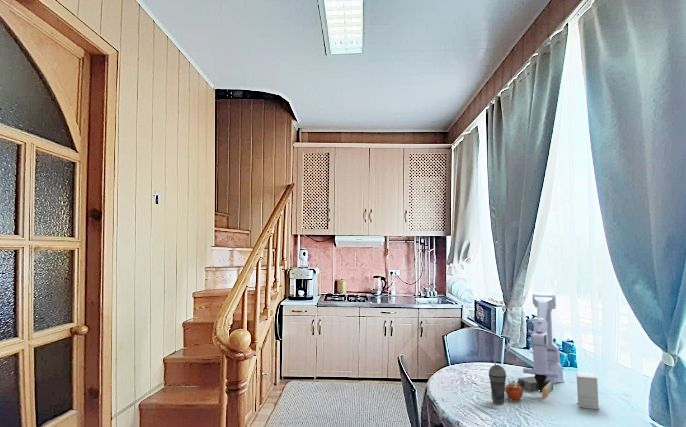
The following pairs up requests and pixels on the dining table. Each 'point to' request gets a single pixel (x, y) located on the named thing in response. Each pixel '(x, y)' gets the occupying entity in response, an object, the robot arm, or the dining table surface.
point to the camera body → (530, 383)
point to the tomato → (514, 391)
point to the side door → (547, 389)
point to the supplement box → (587, 390)
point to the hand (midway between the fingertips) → (541, 392)
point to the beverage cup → (497, 383)
